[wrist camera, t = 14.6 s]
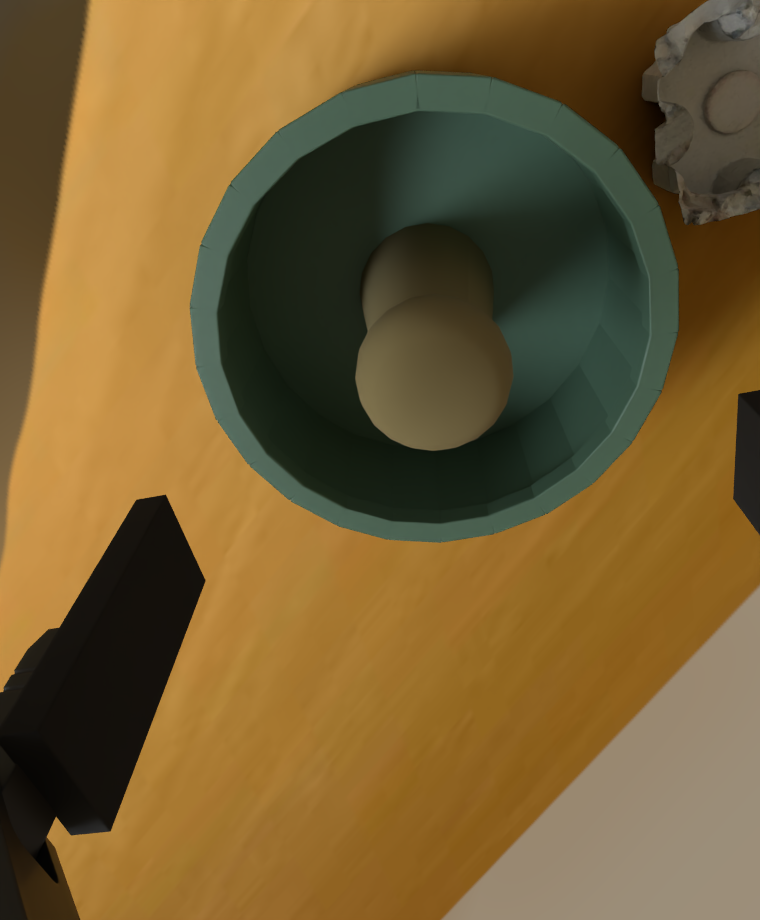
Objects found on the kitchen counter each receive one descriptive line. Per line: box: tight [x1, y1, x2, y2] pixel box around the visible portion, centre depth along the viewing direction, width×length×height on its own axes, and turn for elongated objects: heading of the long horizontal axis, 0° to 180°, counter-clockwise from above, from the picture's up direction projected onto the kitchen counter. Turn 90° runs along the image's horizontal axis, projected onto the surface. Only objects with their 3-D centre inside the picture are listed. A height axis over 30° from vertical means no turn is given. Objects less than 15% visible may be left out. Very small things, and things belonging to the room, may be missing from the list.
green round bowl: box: [190, 70, 679, 543], centre depth 28 cm, size 17×17×8 cm
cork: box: [355, 223, 513, 451], centre depth 26 cm, size 6×6×11 cm
